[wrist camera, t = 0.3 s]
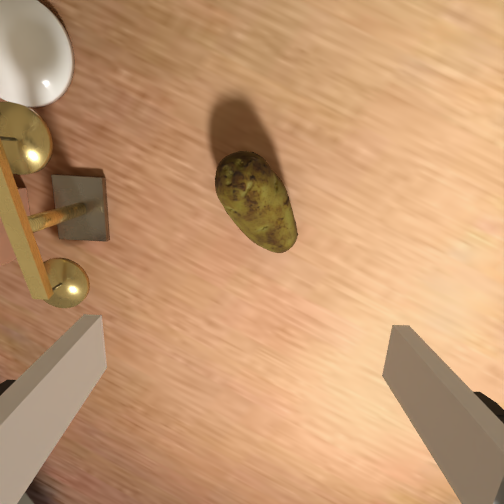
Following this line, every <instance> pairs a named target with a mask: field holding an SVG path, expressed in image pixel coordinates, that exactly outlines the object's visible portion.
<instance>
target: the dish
mask: <svg viewBox="0 0 504 504" xmlns="http://www.w3.org/2000/svg"><path fill="white" fill-rule="evenodd" d="M74 65H75V63H74V52H73V47H72V44H71V41H70V38H69V35H68V34H67V32H66V30H65V28H64V26H63V25H62V23H61V22H60V21H59V19H58V18H57V17H56V16H55V15H54V14H53V13H52V12H51V11H50V10H49V9H48V8H47V7H45V6H44V5H43V4H41V3H40V2H39V1H37V0H0V98H2V99H4V100H6V101H8V102H13V103H17V104H21V105H24V106H26V107H43V106H47V105H50V104H52V103H54V102H55V101H57V100H58V99H60V98H61V97H62V96H63V95H64V93H65V92H66V91H67V89H68V87H69V86H70V83H71V81H72V78H73V73H74Z"/></svg>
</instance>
